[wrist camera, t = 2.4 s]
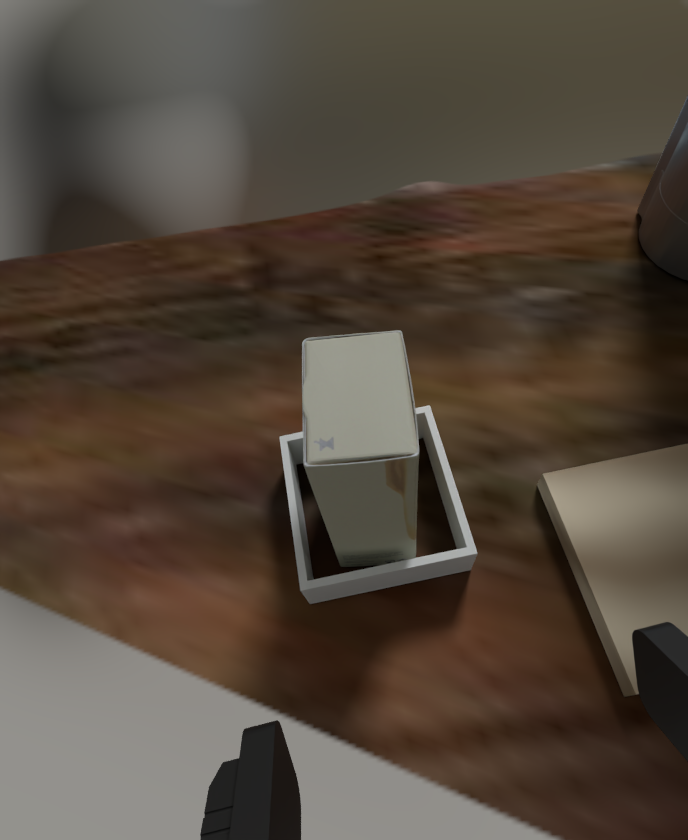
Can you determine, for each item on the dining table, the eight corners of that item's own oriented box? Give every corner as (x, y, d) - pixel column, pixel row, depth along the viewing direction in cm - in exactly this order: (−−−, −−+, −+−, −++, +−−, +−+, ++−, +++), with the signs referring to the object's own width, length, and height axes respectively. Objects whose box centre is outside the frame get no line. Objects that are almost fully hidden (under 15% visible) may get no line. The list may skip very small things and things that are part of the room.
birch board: (536, 485, 30) (542, 473, 29) (689, 452, 31) (701, 440, 29) (624, 696, 25) (636, 694, 23) (811, 656, 25) (833, 652, 24)
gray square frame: (289, 460, 33) (279, 436, 30) (427, 431, 33) (429, 405, 30) (309, 604, 28) (300, 590, 26) (470, 570, 28) (477, 553, 26)
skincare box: (417, 563, 29) (424, 464, 18) (338, 569, 29) (301, 475, 19) (405, 458, 32) (404, 323, 22) (334, 464, 32) (300, 334, 22)
